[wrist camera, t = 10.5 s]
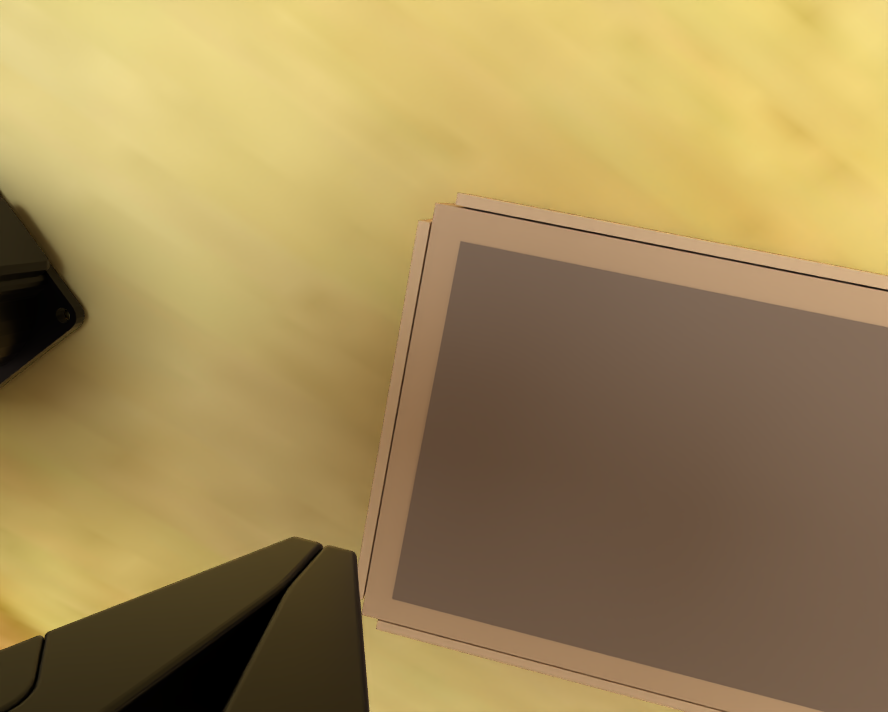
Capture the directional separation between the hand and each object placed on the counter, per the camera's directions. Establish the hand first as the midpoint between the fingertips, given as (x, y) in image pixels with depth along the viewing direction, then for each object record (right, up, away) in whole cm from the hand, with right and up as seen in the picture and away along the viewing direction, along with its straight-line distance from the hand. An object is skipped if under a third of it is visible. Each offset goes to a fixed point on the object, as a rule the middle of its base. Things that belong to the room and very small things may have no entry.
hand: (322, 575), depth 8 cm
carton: (+8, 0, +12) cm, 15 cm away
